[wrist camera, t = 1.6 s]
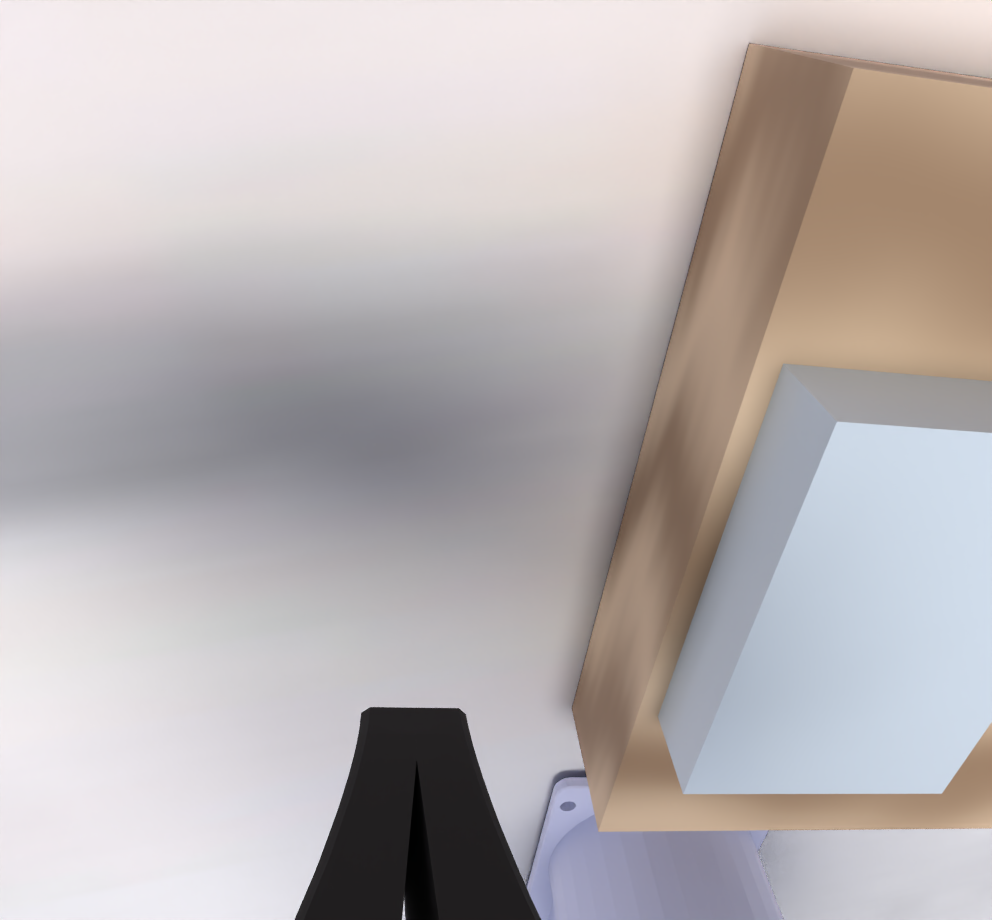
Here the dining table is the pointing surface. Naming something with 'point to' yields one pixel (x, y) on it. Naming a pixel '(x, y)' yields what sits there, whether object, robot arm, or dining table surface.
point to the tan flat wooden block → (754, 373)
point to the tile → (846, 595)
